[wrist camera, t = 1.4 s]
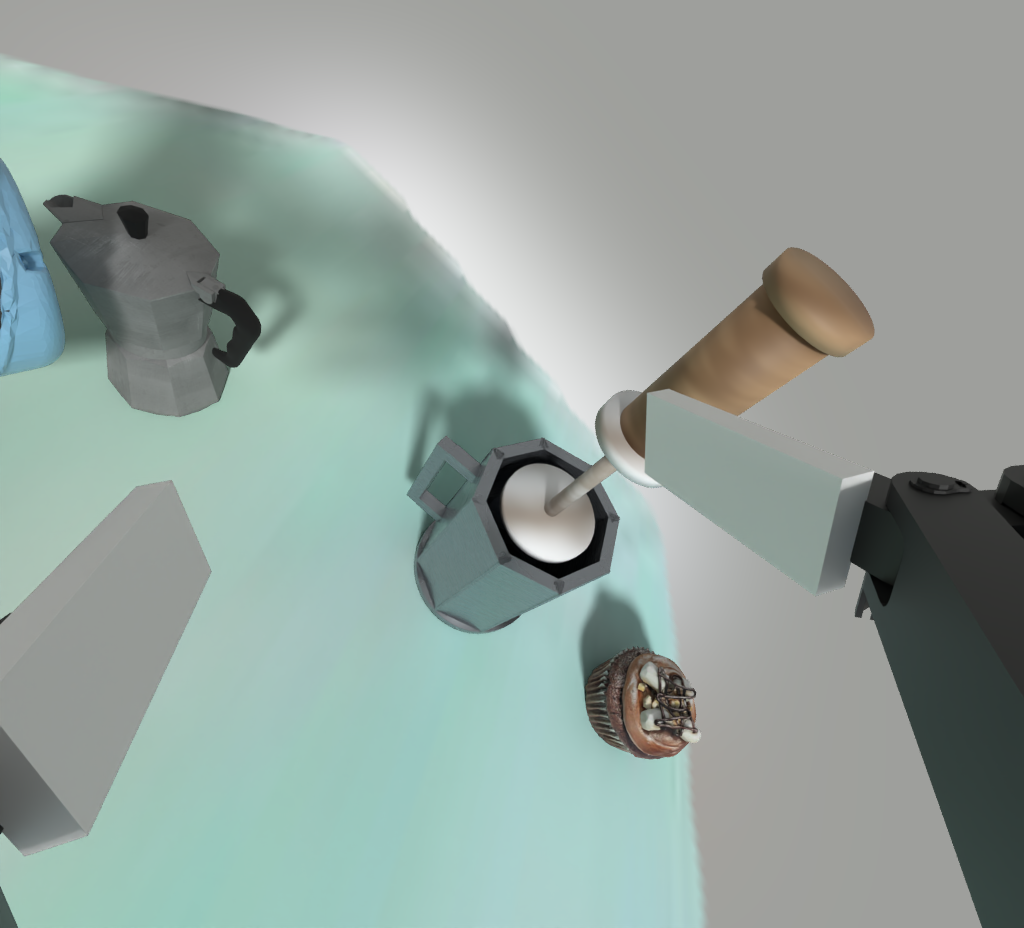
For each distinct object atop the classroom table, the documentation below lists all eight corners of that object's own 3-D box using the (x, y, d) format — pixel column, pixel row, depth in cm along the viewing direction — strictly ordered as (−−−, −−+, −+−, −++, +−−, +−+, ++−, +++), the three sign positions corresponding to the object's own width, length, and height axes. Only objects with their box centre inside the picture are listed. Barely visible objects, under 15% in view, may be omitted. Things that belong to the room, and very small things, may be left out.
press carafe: (387, 505, 48) (433, 422, 35) (493, 478, 55) (563, 401, 42) (442, 656, 43) (517, 622, 31) (550, 605, 51) (646, 561, 38)
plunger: (483, 479, 36) (718, 209, 18) (562, 459, 40) (816, 227, 22) (526, 577, 34) (849, 385, 15) (605, 545, 38) (929, 366, 20)
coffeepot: (57, 370, 41) (-50, 175, 27) (143, 311, 46) (93, 125, 32) (225, 460, 43) (210, 326, 29) (288, 394, 49) (300, 255, 35)
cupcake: (660, 756, 48) (739, 760, 40) (579, 757, 44) (648, 762, 37) (647, 656, 53) (714, 642, 45) (573, 650, 49) (632, 633, 41)
